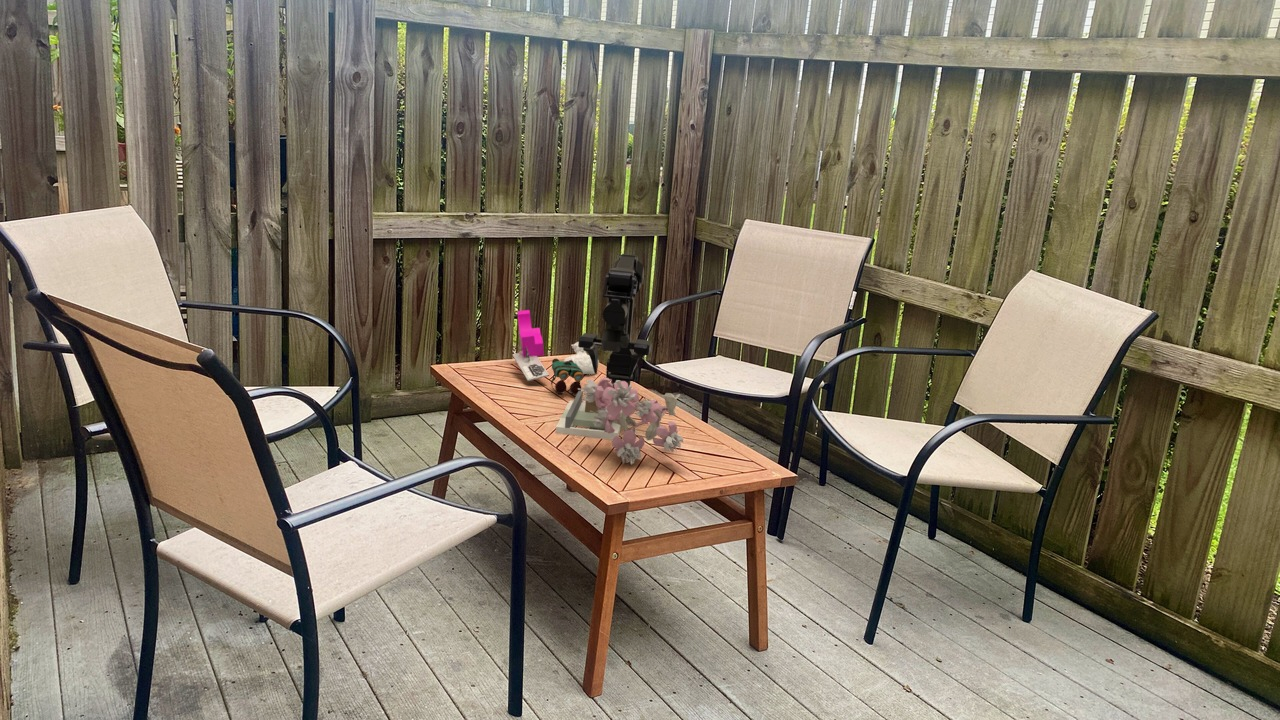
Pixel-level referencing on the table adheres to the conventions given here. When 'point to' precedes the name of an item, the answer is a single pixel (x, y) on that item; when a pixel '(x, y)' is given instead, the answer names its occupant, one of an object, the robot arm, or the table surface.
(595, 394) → the flower
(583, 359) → the white tied sack
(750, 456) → the table surface
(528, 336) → the toy block
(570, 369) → the binoculars
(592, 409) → the walnut block
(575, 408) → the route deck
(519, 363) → the car cutout
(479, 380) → the table surface
